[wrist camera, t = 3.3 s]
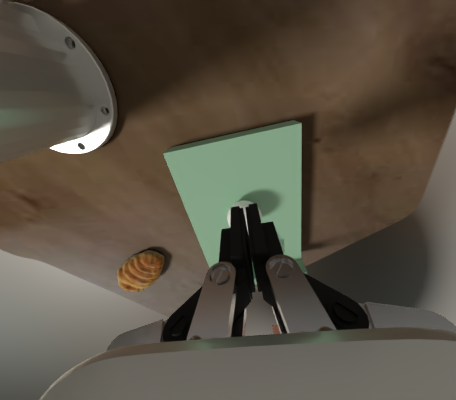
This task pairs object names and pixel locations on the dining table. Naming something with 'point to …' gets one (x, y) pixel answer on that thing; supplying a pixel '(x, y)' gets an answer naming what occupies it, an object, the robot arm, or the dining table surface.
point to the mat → (242, 183)
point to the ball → (242, 205)
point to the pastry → (140, 271)
